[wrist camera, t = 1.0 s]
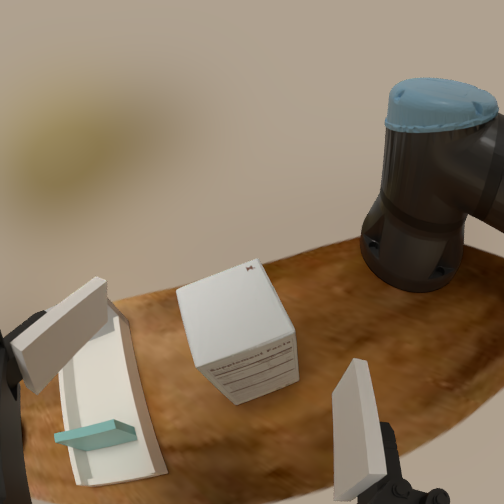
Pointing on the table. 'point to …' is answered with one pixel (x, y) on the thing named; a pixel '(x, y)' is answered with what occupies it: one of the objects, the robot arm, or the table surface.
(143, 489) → the table surface
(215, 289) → the supplement box
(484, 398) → the table surface
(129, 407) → the tray
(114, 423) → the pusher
